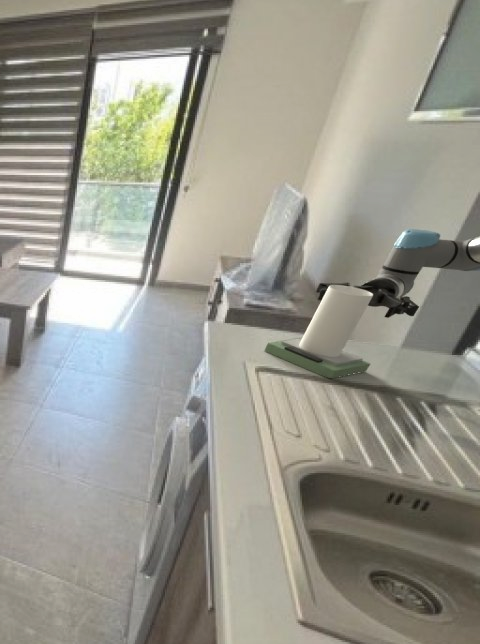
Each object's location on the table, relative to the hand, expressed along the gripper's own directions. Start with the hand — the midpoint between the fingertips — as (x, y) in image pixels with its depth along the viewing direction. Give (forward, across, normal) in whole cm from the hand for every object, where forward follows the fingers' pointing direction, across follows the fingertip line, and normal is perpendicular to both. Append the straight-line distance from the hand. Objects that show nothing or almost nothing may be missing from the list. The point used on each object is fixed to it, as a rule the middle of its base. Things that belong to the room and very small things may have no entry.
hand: (353, 303), depth 122 cm
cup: (+9, 0, -11) cm, 14 cm away
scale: (+9, 0, -14) cm, 17 cm away
